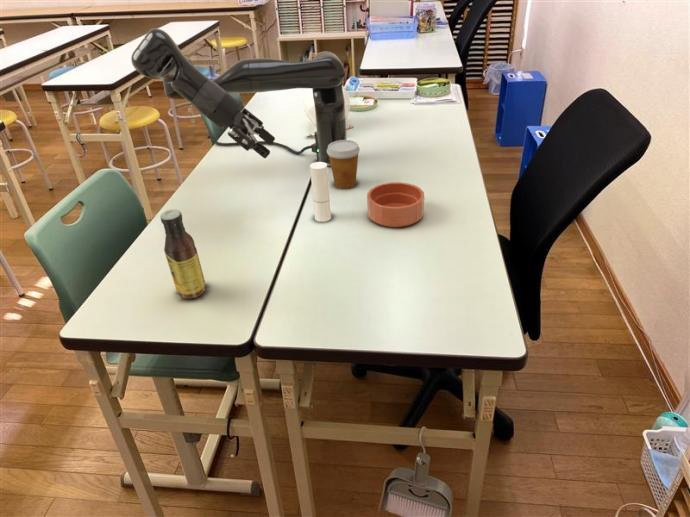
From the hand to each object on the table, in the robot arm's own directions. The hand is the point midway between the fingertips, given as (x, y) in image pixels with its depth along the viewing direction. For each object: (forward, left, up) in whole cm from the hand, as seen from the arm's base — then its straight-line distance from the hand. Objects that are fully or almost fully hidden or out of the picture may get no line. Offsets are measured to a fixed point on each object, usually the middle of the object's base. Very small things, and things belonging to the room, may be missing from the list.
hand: (270, 148), depth 127 cm
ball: (-33, +58, -20) cm, 70 cm away
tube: (+9, +7, -20) cm, 23 cm away
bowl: (+24, +19, -20) cm, 37 cm away
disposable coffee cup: (+1, +26, -20) cm, 33 cm away
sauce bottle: (+7, -34, -20) cm, 40 cm away
